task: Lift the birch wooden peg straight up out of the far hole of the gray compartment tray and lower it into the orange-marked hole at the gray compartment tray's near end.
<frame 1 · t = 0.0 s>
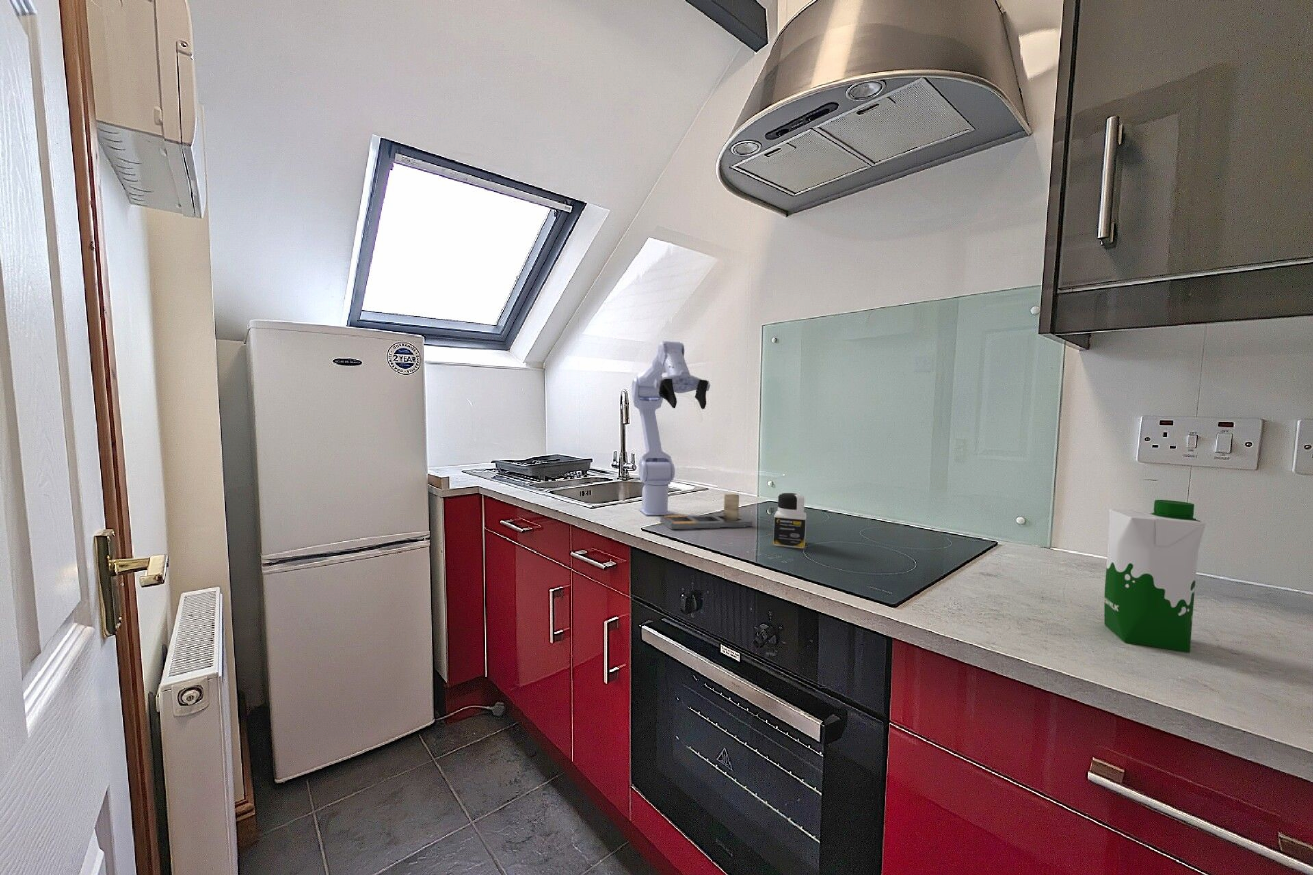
hand: (689, 405, 129), 32 cm above the worktop, tool tilted 50°, fingers open, 7 cm apart
milk carton: (1143, 639, 76), on the worktop
peg: (730, 523, 146), resting in gray compartment tray
gray compartment tray: (705, 524, 144), on the worktop
medicine bottle: (789, 544, 125), on the worktop
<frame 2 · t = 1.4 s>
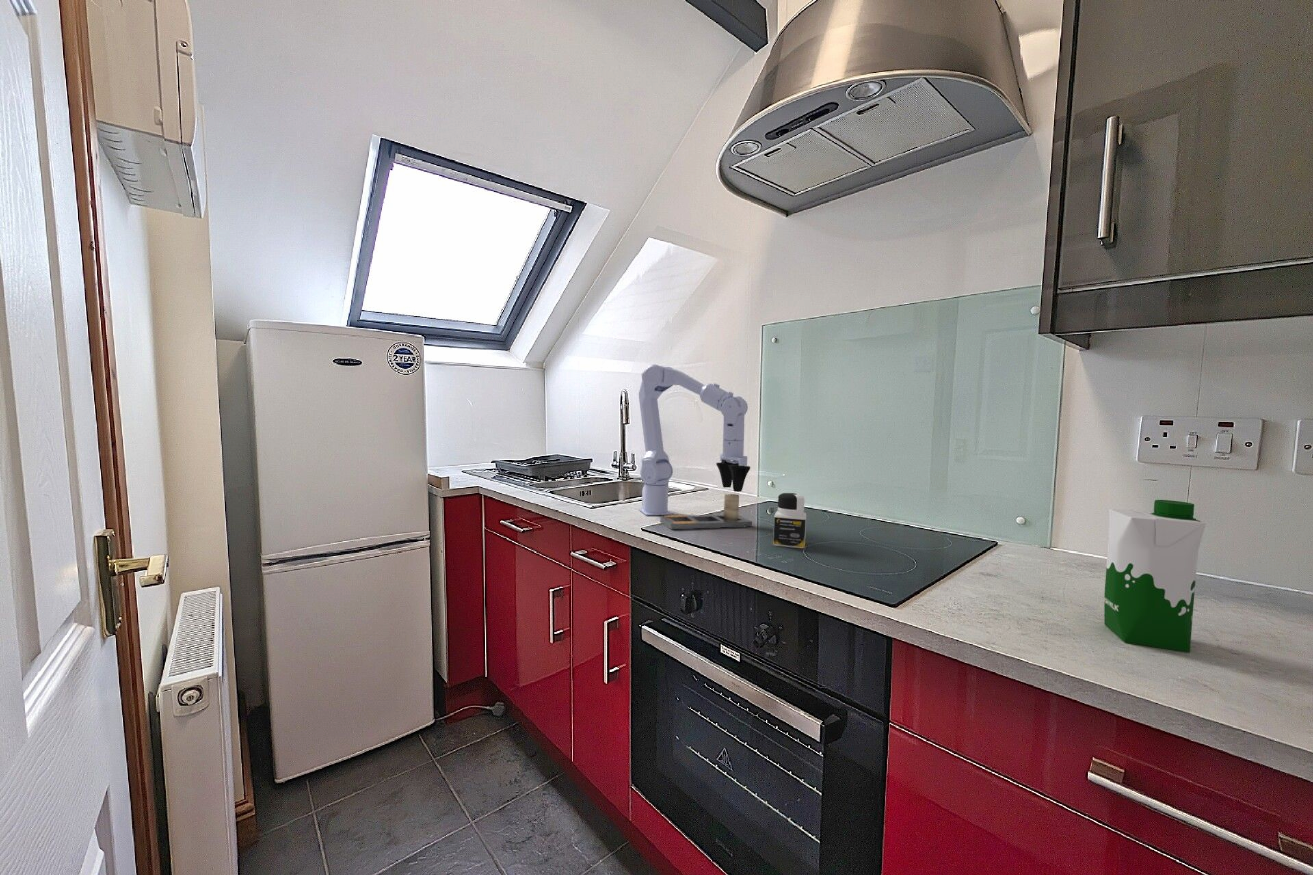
hand: (732, 489, 145), 10 cm above the worktop, tool pointing down, fingers open, 7 cm apart
nothing on the worktop moved.
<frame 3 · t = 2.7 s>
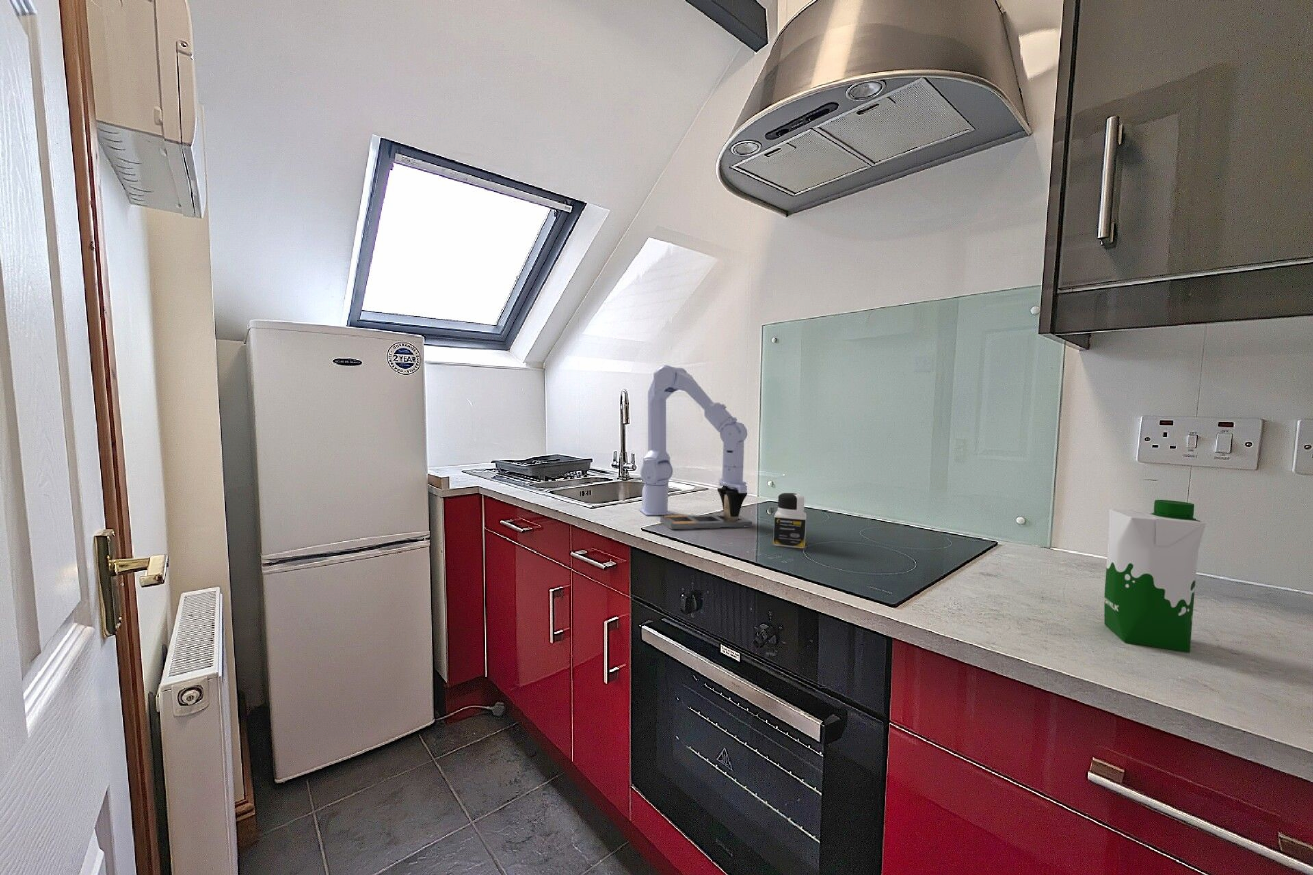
hand: (731, 514, 145), 2 cm above the worktop, tool pointing down, fingers closed on peg, 4 cm apart
peg: (730, 523, 146), resting in gray compartment tray, touching gripper
everything else where it was.
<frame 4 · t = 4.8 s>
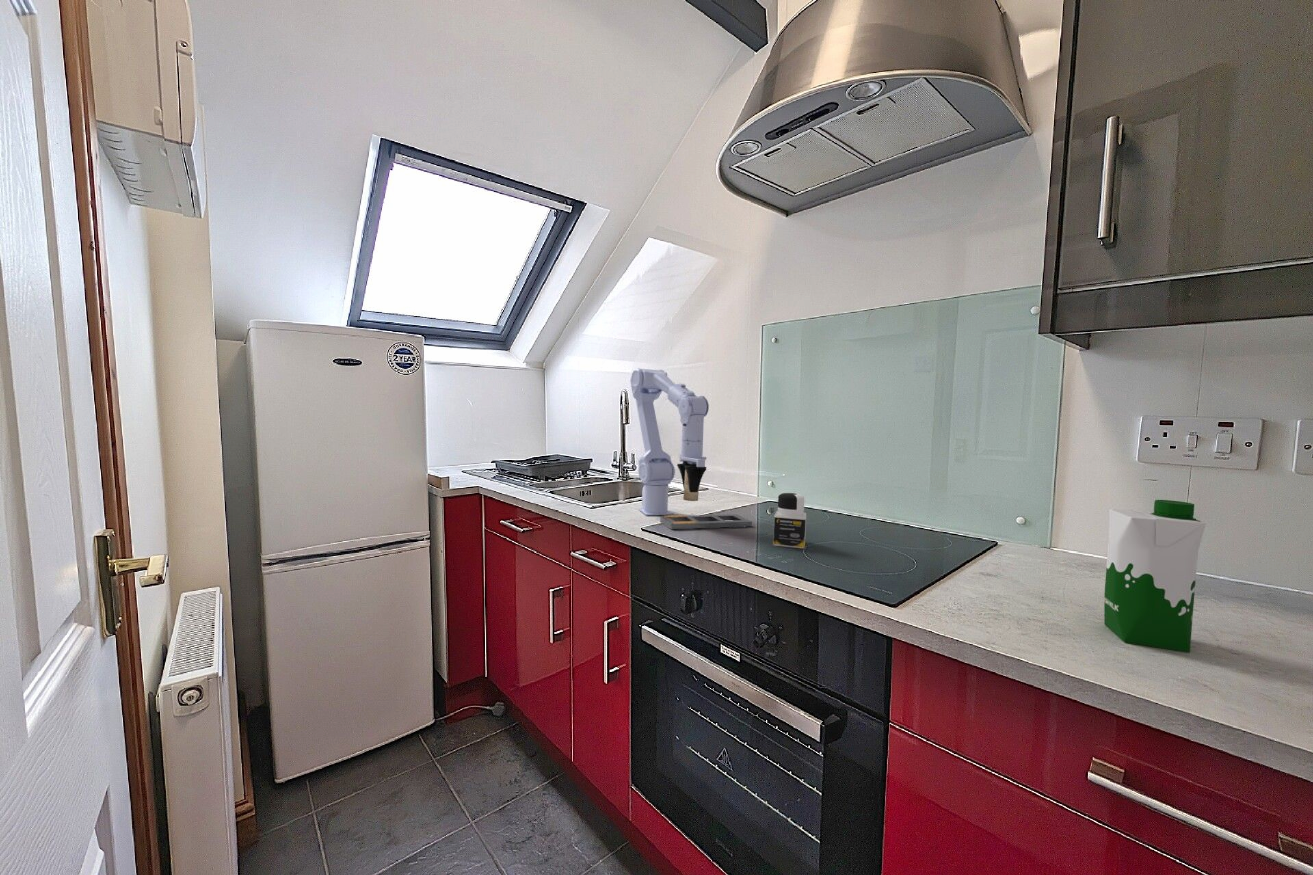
hand: (690, 490, 142), 9 cm above the worktop, tool pointing down, fingers closed on peg, 4 cm apart
peg: (690, 499, 142), point 7 cm above the worktop, touching gripper
everything else where it was.
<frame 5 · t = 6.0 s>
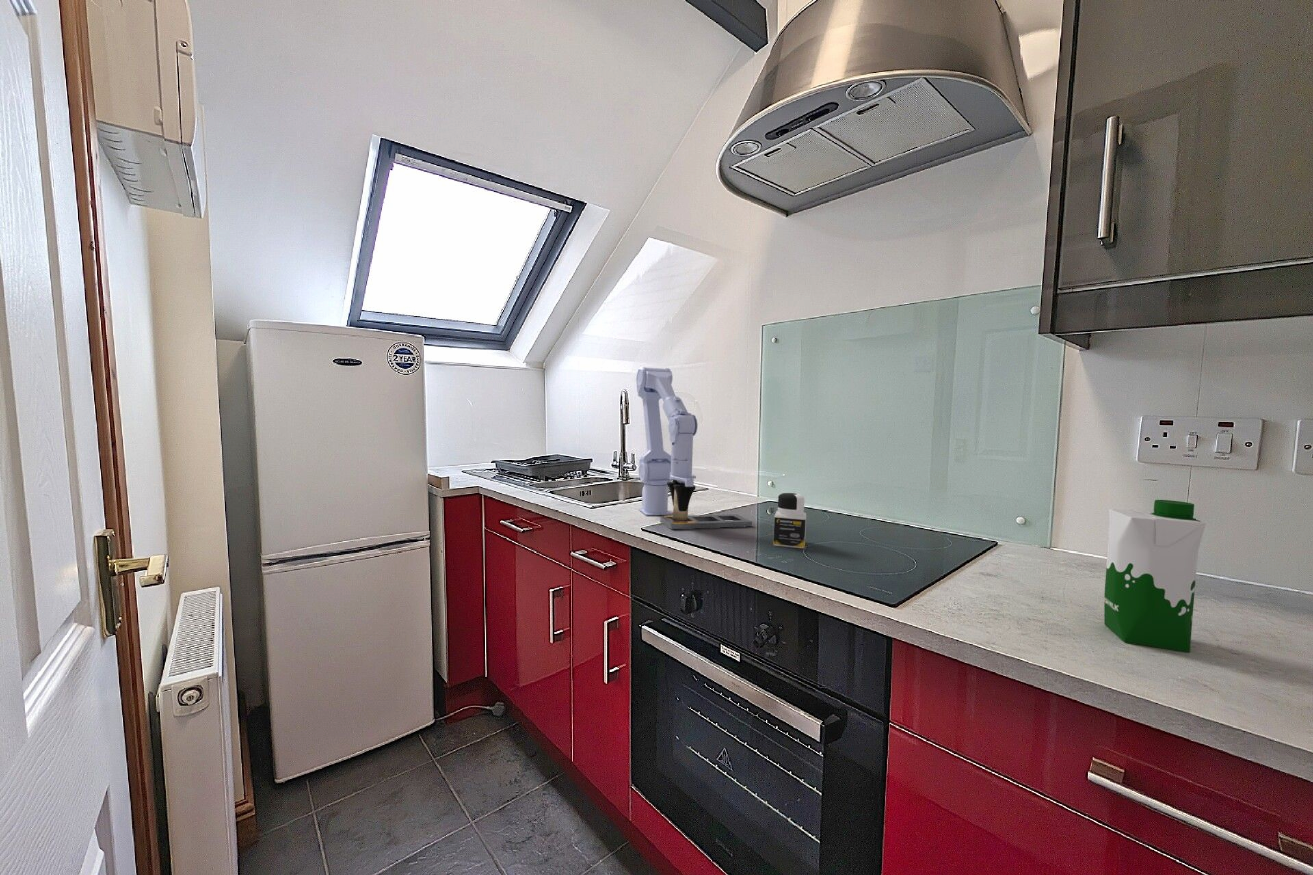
hand: (680, 509, 141), 4 cm above the worktop, tool pointing down, fingers closed on peg, 4 cm apart
peg: (680, 518, 141), point 2 cm above the worktop, touching gripper
everything else where it was.
when the fingers open (4 cm above the worktop, at t = 6.9 s): peg drops 1 cm, resting in gray compartment tray.
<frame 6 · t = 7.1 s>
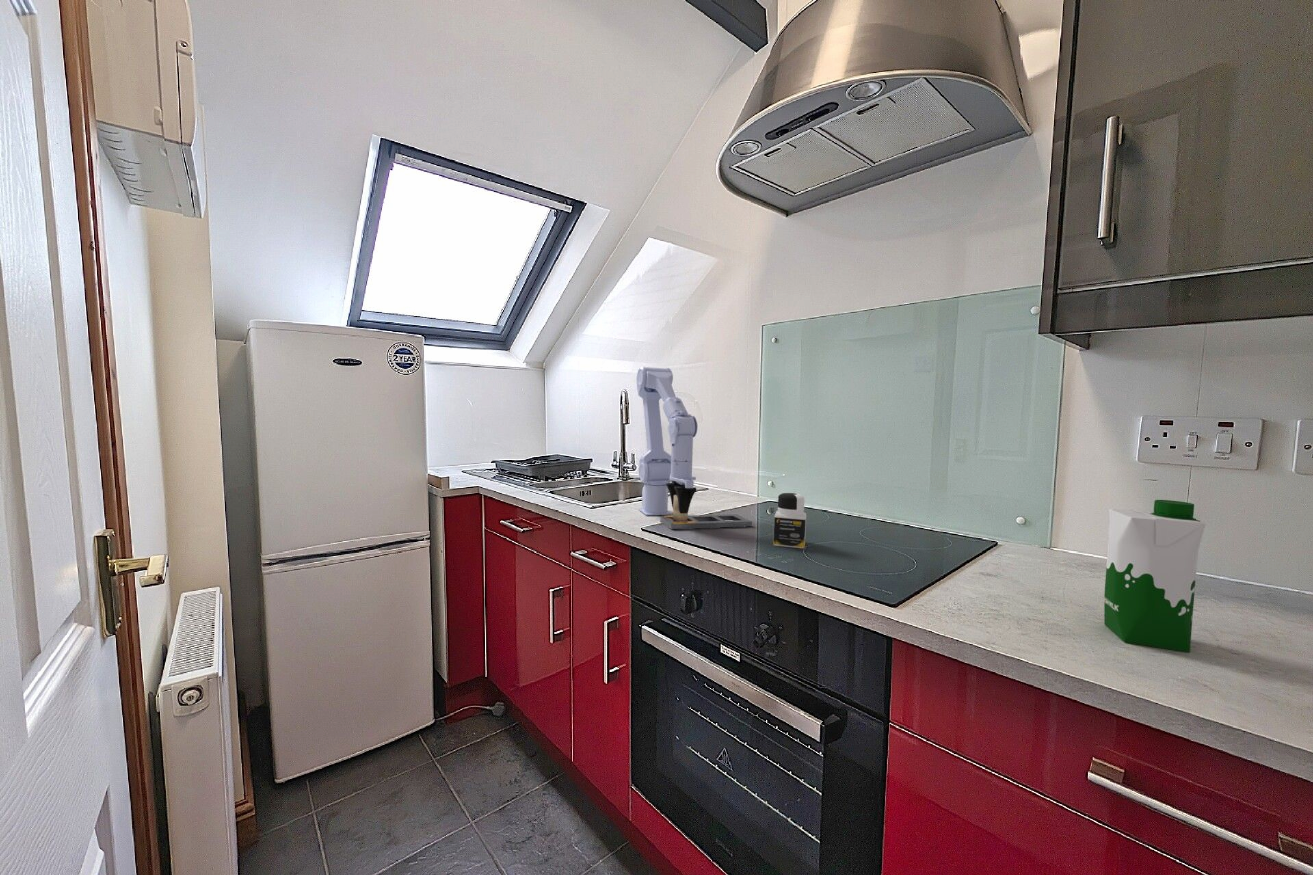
hand: (680, 510, 141), 4 cm above the worktop, tool pointing down, fingers open, 5 cm apart
peg: (679, 525, 141), resting in gray compartment tray
everything else where it was.
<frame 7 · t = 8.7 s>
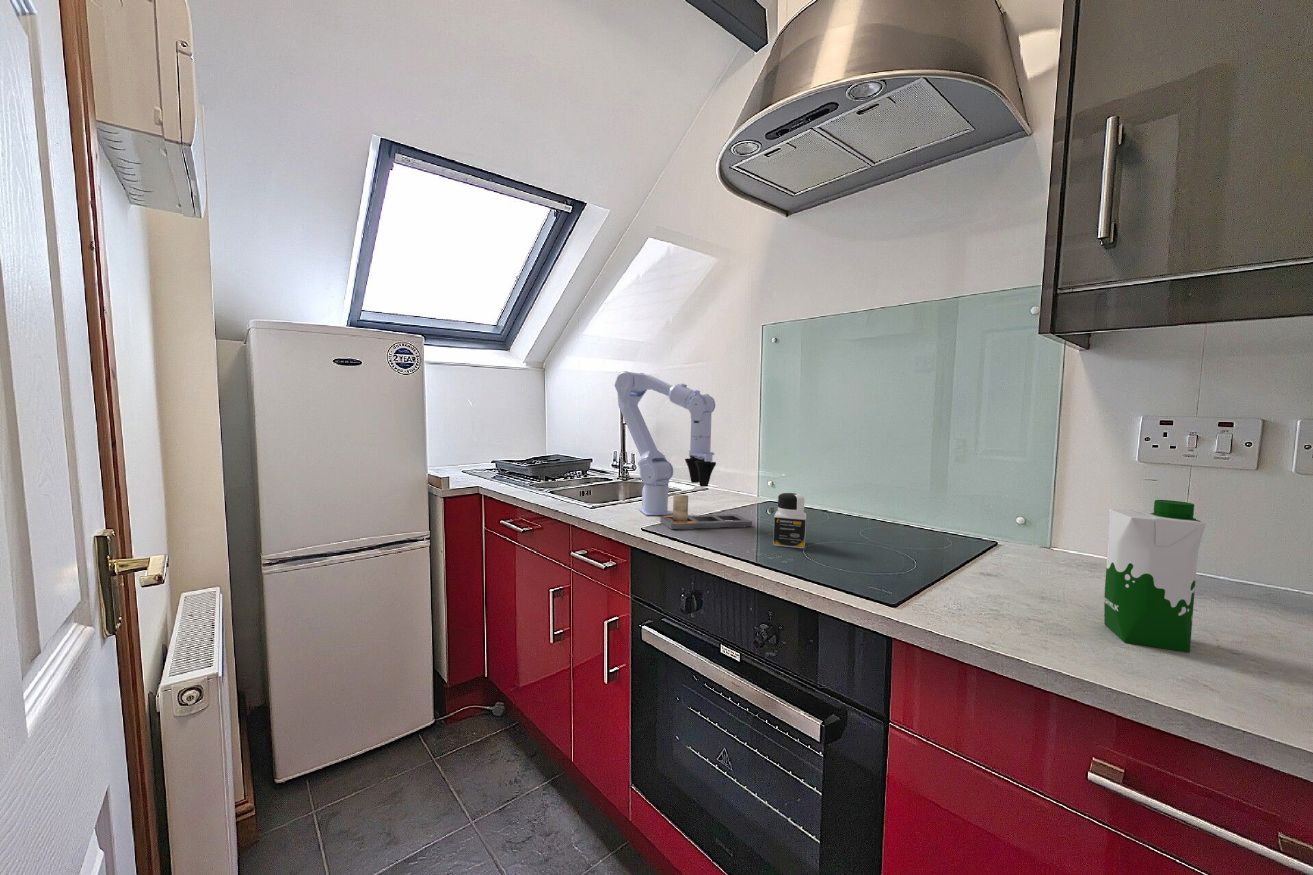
hand: (699, 484, 149), 10 cm above the worktop, tool pointing down, fingers open, 7 cm apart
nothing on the worktop moved.
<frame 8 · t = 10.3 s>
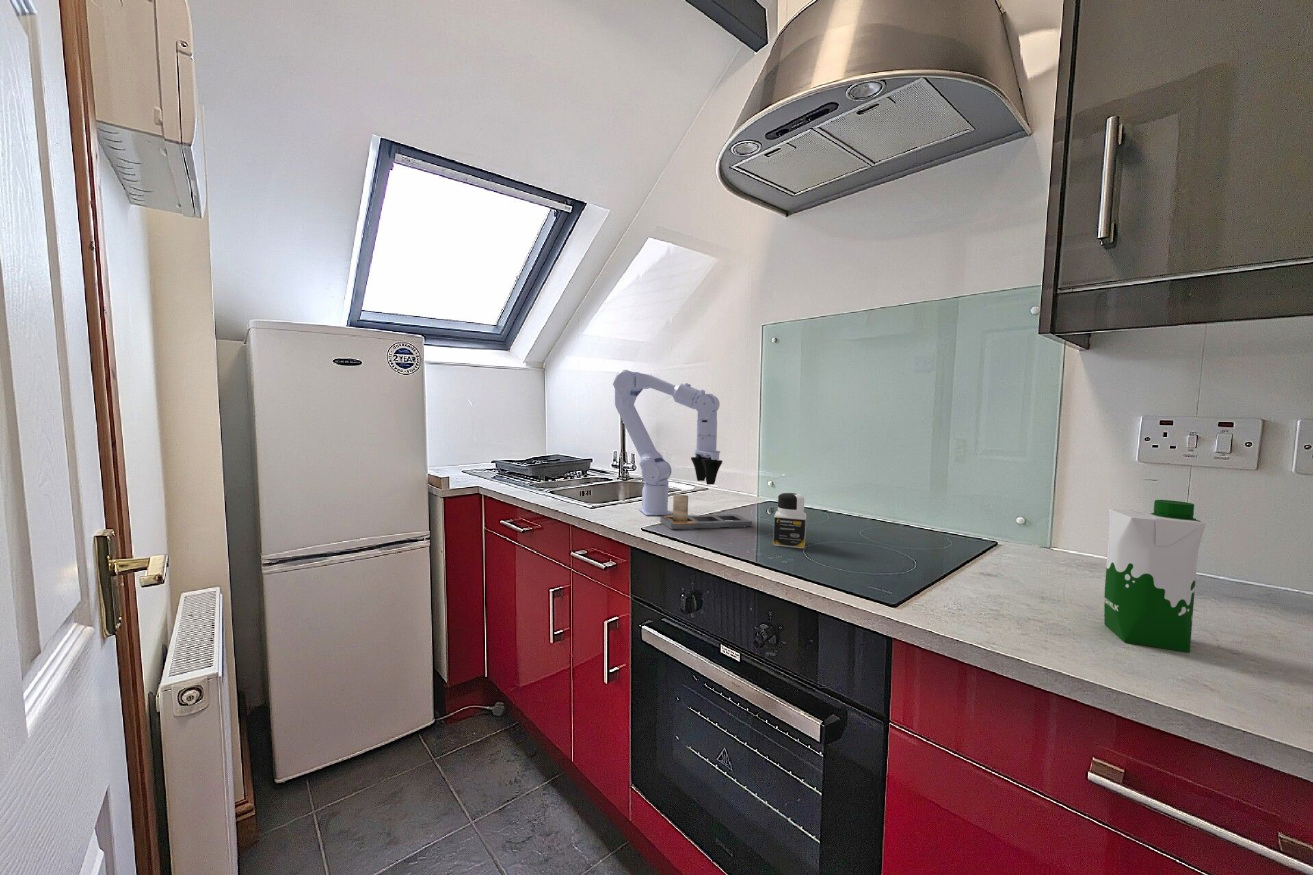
hand: (705, 482, 151), 10 cm above the worktop, tool pointing down, fingers open, 7 cm apart
nothing on the worktop moved.
at the end: peg 0.1 cm from the target spot on the gray compartment tray, point 0.0 cm above the gray compartment tray's base; peg tilted 0°; the gripper is holding nothing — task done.
